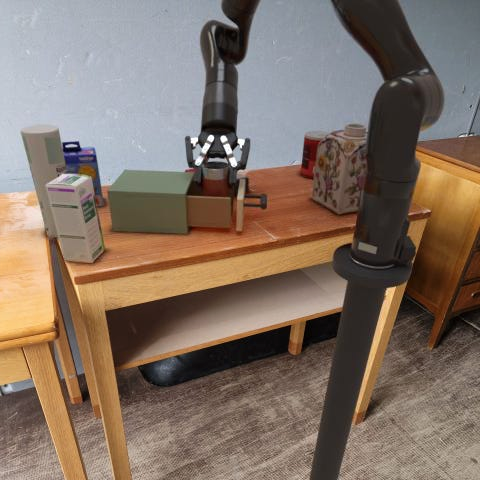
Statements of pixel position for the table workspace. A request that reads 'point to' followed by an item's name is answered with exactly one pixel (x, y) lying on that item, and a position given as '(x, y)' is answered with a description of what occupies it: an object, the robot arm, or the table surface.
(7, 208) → the table surface
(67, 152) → the ink cartridge box
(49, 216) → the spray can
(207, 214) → the drawer
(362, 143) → the decorative jar
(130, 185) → the cabinet
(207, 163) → the tin
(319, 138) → the canned food
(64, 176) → the syrup box
